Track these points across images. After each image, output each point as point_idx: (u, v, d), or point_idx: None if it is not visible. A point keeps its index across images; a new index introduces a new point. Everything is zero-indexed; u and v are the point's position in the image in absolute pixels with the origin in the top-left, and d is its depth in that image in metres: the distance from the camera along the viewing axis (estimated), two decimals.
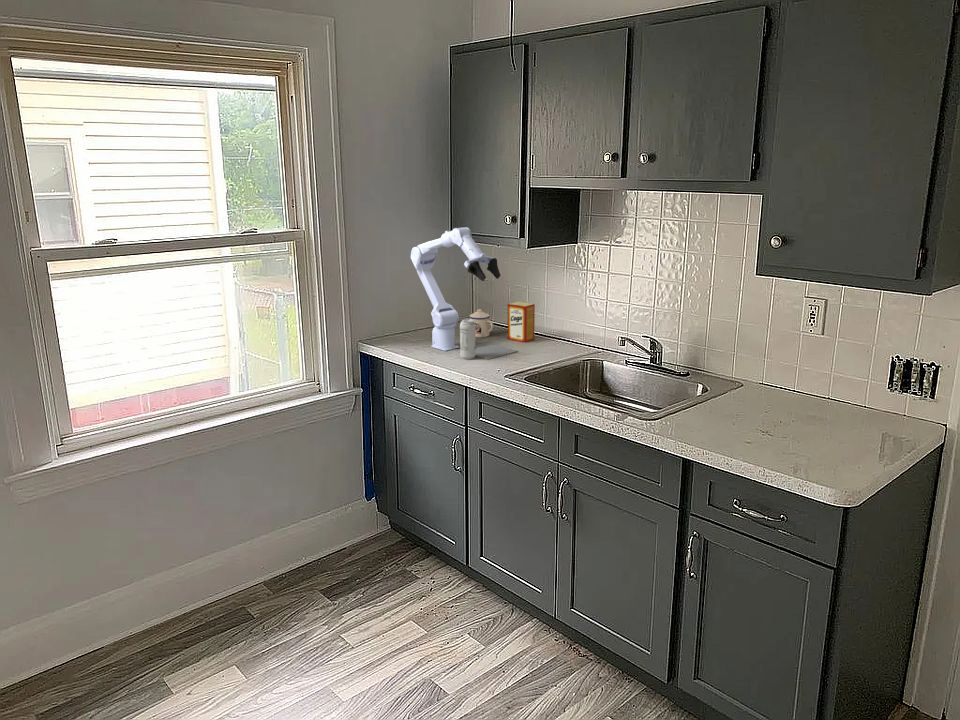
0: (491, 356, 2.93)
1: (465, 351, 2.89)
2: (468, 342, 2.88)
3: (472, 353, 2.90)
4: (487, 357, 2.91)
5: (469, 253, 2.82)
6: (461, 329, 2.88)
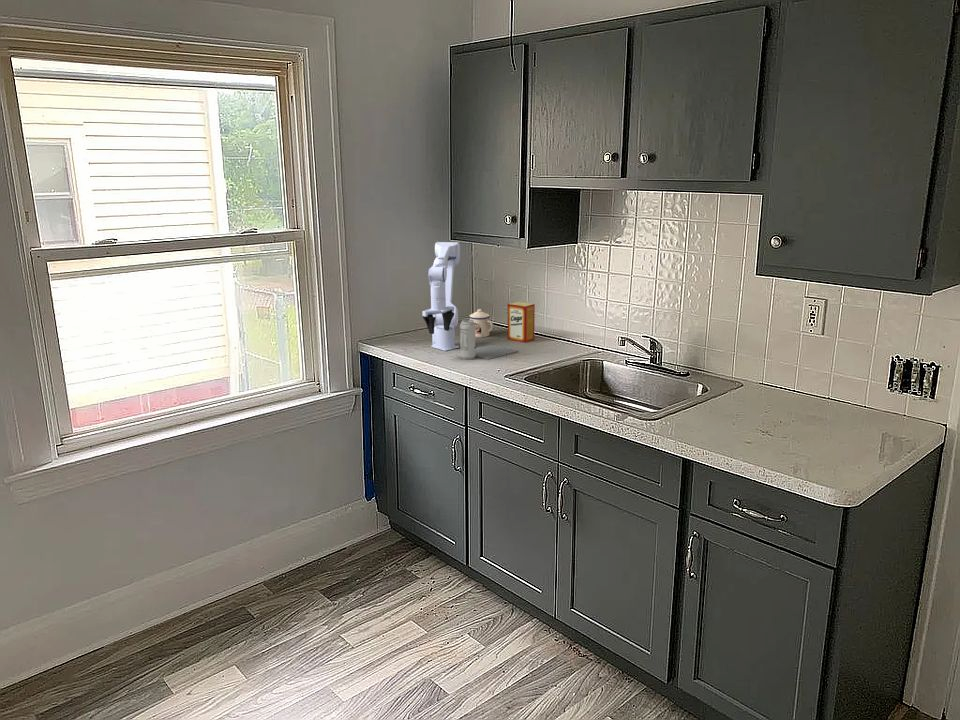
0: (491, 356, 2.93)
1: (465, 351, 2.89)
2: (468, 341, 2.88)
3: (472, 353, 2.90)
4: (487, 357, 2.91)
5: (433, 300, 2.84)
6: (461, 329, 2.88)
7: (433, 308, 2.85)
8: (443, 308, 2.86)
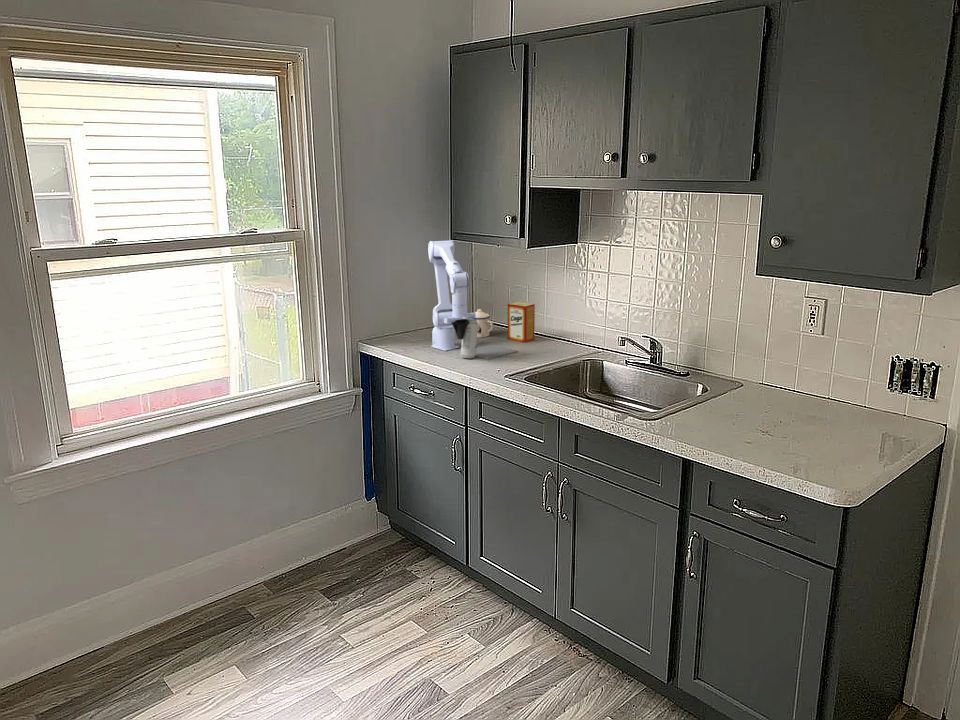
0: (491, 356, 2.93)
1: (466, 350, 2.89)
2: (469, 340, 2.88)
3: (473, 352, 2.90)
4: (487, 357, 2.91)
5: (455, 307, 2.82)
6: None
7: (454, 315, 2.83)
8: (465, 315, 2.83)
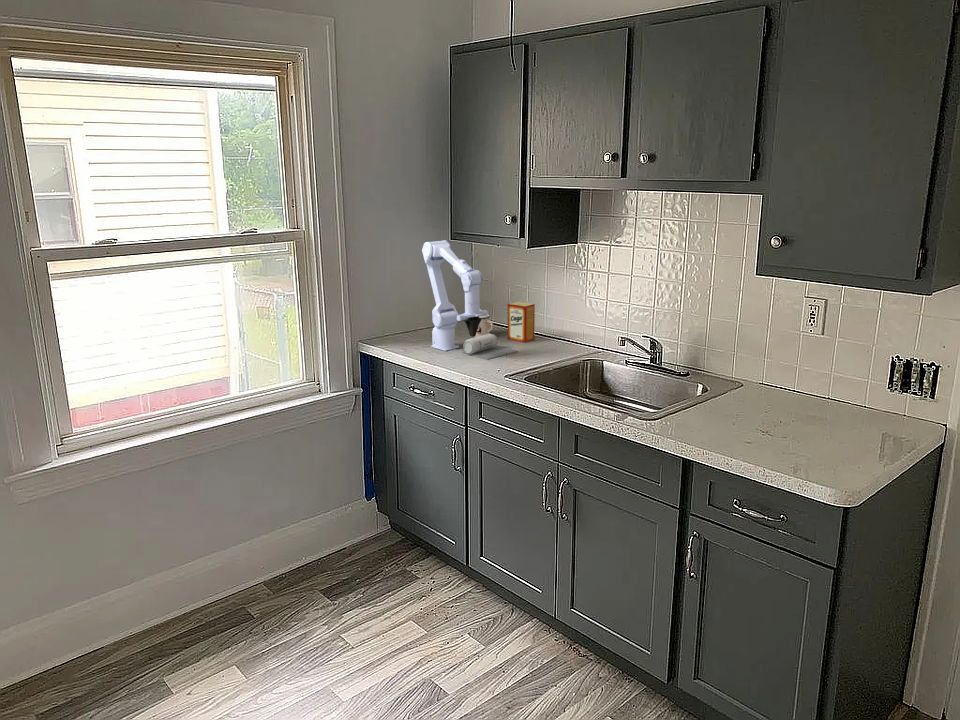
0: (491, 356, 2.93)
1: None
2: (479, 336, 3.00)
3: (474, 340, 2.95)
4: (487, 357, 2.91)
5: (467, 305, 2.86)
6: None
7: (467, 312, 2.87)
8: (477, 312, 2.88)
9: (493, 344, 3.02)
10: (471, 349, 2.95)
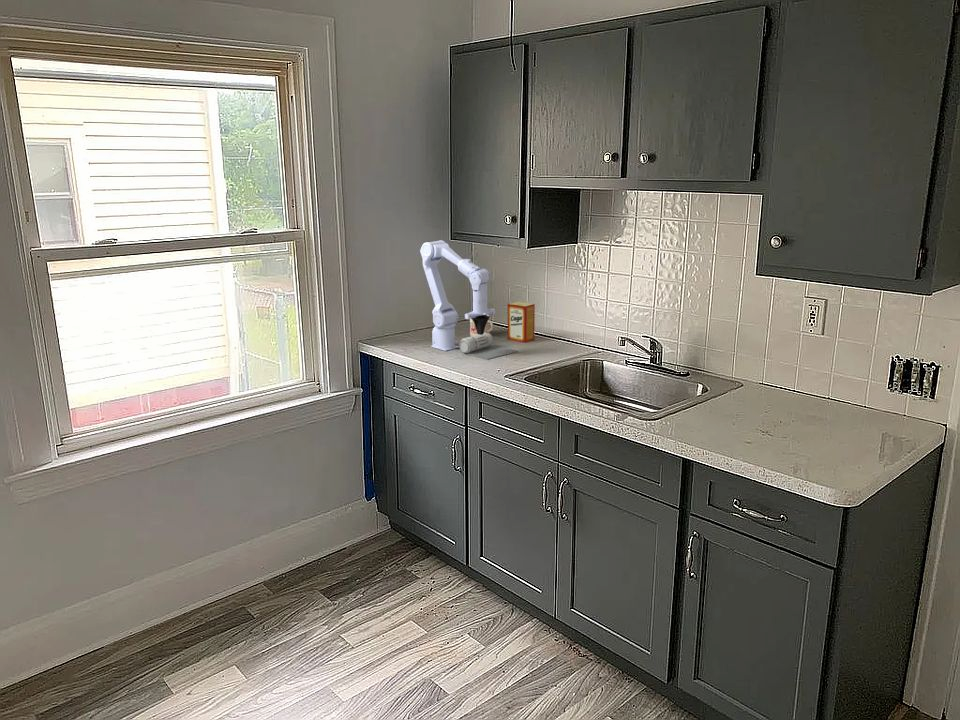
0: (491, 356, 2.93)
1: None
2: None
3: None
4: (487, 357, 2.91)
5: (475, 303, 2.89)
6: None
7: (475, 311, 2.90)
8: (485, 311, 2.90)
9: (488, 338, 3.03)
10: (467, 345, 2.96)
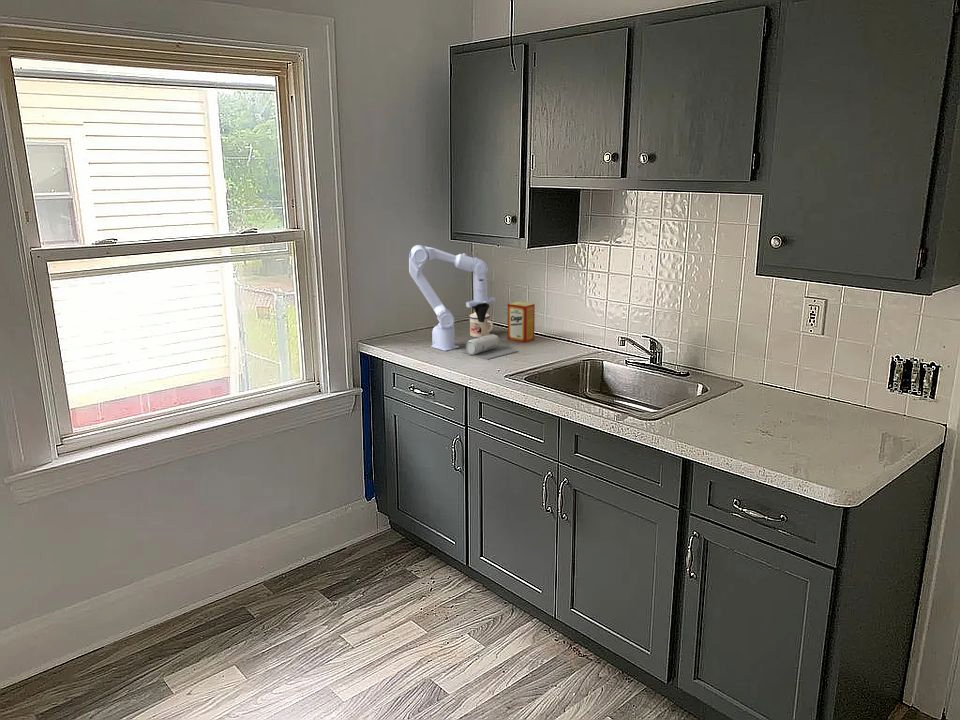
0: (491, 356, 2.93)
1: (475, 338, 2.96)
2: (484, 338, 2.98)
3: (479, 343, 2.94)
4: (487, 357, 2.91)
5: (476, 292, 3.02)
6: None
7: (476, 299, 3.03)
8: (485, 299, 3.03)
9: (494, 347, 3.02)
10: (472, 351, 2.94)
